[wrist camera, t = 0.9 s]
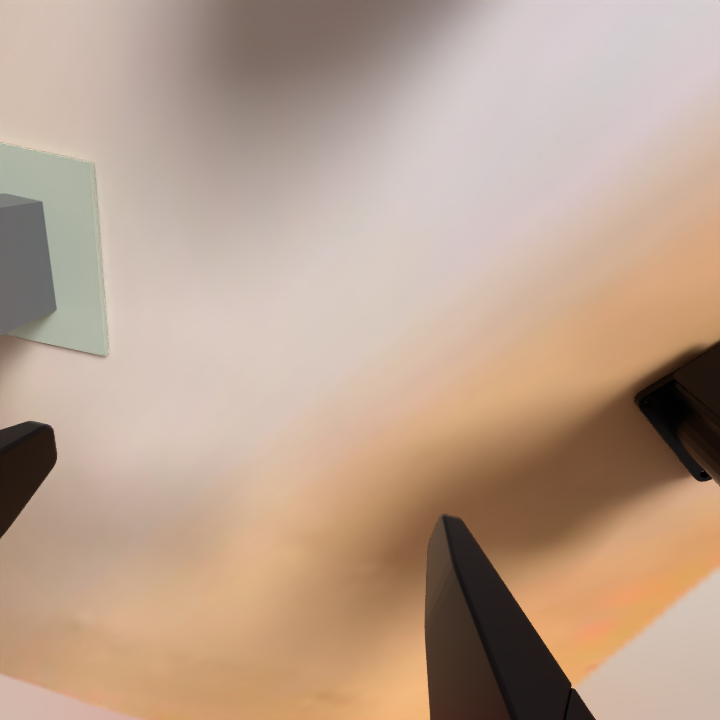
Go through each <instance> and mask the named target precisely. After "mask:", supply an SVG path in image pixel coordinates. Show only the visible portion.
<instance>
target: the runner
mask: <svg viewBox="0 0 720 720" xmlns="http://www.w3.org/2000/svg"><path fill="white" fill-rule="evenodd" d="M3 193H6V194H11V195H15V196H20V197H25V198H29V199H34V200H38V201H42V202H43V210H44V217H45V225H46V232H47V240H48V247H49V255H50V262H51V270H52V277H53V285H54V292H55V300H56V307H57V310H54V311H52V312H50V313H48V314H46V315H44V316H42V317H40V318H37V319H35V320H33V321H31V322H29V323H27V324H25V325H23V326H21V327H18V328H16V329H14V330H12V331H10V332H8V333H6V334H4V335H9V336H13V337H18V338H23V339H27V340H32V341H37V342H42V343H46V344H51V345H56V346H60V347H65V348H70V349H74V350H79V351H84V352H88V353H93V354H98V355H103V356H106V355H108V354H109V348H108V335H107V322H106V309H105V297H104V284H103V271H102V258H101V245H100V233H99V220H98V207H97V194H96V181H95V168H94V163H92V162H88V161H83V160H79V159H74V158H70V157H65V156H61V155H56V154H52V153H47V152H43V151H38V150H34V149H29V148H25V147H20V146H15V145H11V144H6V143H2V142H0V194H3Z"/></svg>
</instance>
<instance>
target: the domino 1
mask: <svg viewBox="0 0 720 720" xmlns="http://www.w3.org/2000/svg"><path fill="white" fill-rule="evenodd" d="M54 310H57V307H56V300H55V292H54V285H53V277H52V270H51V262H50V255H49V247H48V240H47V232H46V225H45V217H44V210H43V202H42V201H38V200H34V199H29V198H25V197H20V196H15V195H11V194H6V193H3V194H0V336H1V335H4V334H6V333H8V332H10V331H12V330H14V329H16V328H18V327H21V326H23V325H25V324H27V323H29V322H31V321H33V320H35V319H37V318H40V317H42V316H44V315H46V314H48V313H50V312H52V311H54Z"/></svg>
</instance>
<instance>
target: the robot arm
mask: <svg viewBox="0 0 720 720" xmlns="http://www.w3.org/2000/svg"><path fill="white" fill-rule="evenodd" d="M650 398H651V400H650V401H649V402H647V403H645V401H646V400H647V399H650ZM634 402H635V404H636V406H637V407H638V408H639V409H640V411H641V412H642V413H643V414H644V416H645V417H646V418H647V419H648V421H649V422H650V423H651V425H652V426H653V427H654V428H655V430H656V431H657V432H658V433H659V435H660V436H661V437H662V438H663V440H664V441H665V442H666V443H667V445H668V446H669V447H670V448H671V450H672V451H673V452H674V453H675V455H676V456H677V457H678V458H679V460H680V461H681V462H682V463H683V465H684V466H685V467H686V468H687V470H688V471H689V472H690V473H691V475H692V476H693V477H694V478H695V479H696V480H698V481H701V482H703V481H708V480H711V479H713V480H714V481H715V482H716V483H717V484H718V485H719V486H720V345H718V346H717V347H715V348H713V349H711V350H710V351H708V352H706V353H705V354H703V355H701V356H700V357H698V358H696V359H695V360H693V361H691V362H690V363H688V364H686V365H685V366H683V367H681V368H679V369H678V370H676V371H674V372H673V373H671V374H669V375H668V376H666V377H664V378H663V379H661V380H659V381H658V382H656V383H654V384H652V385H651V386H649V387H647V388H646V389H644V390H642V391H641V392H639V393H638V394H637V395H636V397H635V399H634ZM56 460H57V450H56V443H55V436H54V430H53V428H52V427H51V426H50V425H48V424H43V423H39V422H34V421H28V422H24V423H21V424H18V425H15V426H12V427H8V428H5V429H2V430H0V538H1V537H2V536H3V535H4V534H5V532H6V531H7V530H8V528H9V527H10V526H11V525H12V523H13V522H14V521H15V519H16V518H17V517H18V515H19V514H20V513H21V511H22V510H23V508H24V507H25V506H26V504H27V503H28V502H29V500H30V499H31V497H32V496H33V495H34V493H35V492H36V491H37V489H38V488H39V486H40V485H41V484H42V482H43V481H44V480H45V478H46V477H47V476H48V474H49V473H50V471H51V470H52V469H53V467H54V465H55V463H56ZM702 471H703V472H702ZM425 645H426V660H427V675H428V691H429V706H430V720H596V719H595V718H594V716H593V715H592V714H591V712H590V711H589V709H588V708H587V706H586V705H585V703H584V702H583V700H582V699H581V698H580V696H579V694H578V693H577V691H576V690H575V689H574V688H571V682H570V681H569V679H568V678H567V676H566V675H565V673H564V672H563V670H562V669H561V667H560V666H559V664H558V663H557V661H556V660H555V658H554V657H553V655H552V654H551V652H550V651H549V649H548V648H547V646H546V645H545V643H544V642H543V640H542V639H541V637H540V636H539V634H538V633H537V631H536V630H535V628H534V627H533V625H532V624H531V622H530V621H529V619H528V618H527V616H526V615H525V613H524V612H523V610H522V609H521V607H520V606H519V604H518V603H517V601H516V600H515V598H514V597H513V595H512V594H511V592H510V591H509V589H508V588H507V586H506V585H505V583H504V582H503V580H502V579H501V577H500V576H499V574H498V573H497V571H496V570H495V568H494V567H493V565H492V564H491V562H490V561H489V559H488V558H487V556H486V555H485V553H484V552H483V550H482V549H481V547H480V546H479V544H478V543H477V541H476V540H475V538H474V537H473V535H472V534H471V532H470V531H469V529H468V528H467V526H466V525H465V523H464V522H463V521H462V519H460V518H459V517H455V516H451V515H447V514H442V515H440V517H439V518H438V521H437V523H436V525H435V528H434V530H433V533H432V535H431V537H430V540H429V544H428V551H427V574H426V598H425Z"/></svg>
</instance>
